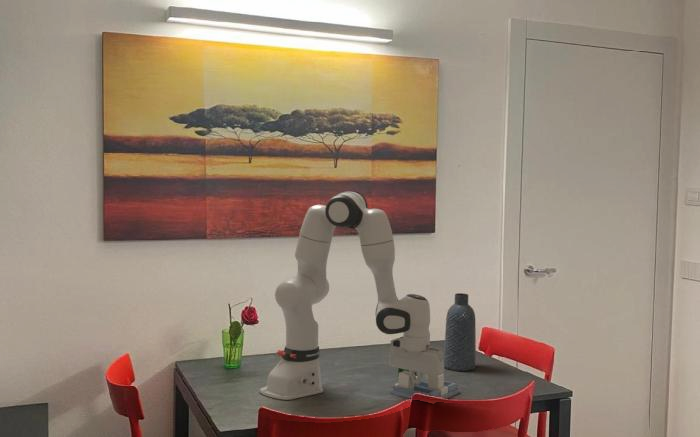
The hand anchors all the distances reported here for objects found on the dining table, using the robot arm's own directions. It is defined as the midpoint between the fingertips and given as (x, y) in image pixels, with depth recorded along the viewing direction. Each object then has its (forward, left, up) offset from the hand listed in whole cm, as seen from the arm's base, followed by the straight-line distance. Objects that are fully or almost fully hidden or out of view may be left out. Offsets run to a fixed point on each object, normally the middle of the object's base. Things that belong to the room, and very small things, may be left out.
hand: (416, 384), depth 260 cm
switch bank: (+5, 0, -4) cm, 7 cm away
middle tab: (+5, -4, -3) cm, 8 cm away
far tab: (+11, +4, -3) cm, 12 cm away
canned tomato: (+18, +15, -5) cm, 24 cm away
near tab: (0, +4, -3) cm, 5 cm away
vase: (+42, +8, -5) cm, 43 cm away
